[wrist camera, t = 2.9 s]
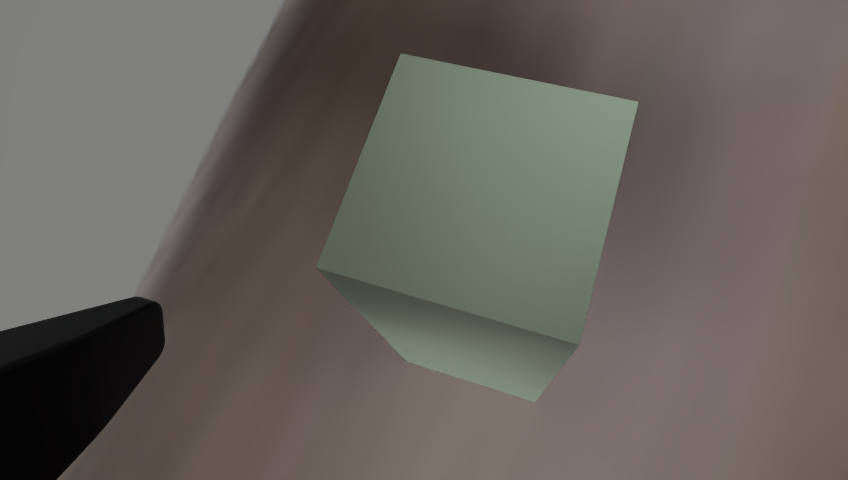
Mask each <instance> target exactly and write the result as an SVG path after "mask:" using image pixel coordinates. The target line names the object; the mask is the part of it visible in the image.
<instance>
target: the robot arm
mask: <svg viewBox="0 0 848 480" xmlns="http://www.w3.org/2000/svg"><path fill="white" fill-rule="evenodd" d="M164 344H165V335H164V324H163V312H162V308H161V306H160V304H158V303H157V302H155V301H152V300H148V299H145V298H142V297H132V298H128V299H124V300H120V301H116V302H112V303H108V304H105V305H101V306H97V307H93V308H89V309H85V310H81V311H78V312H73V313H70V314H66V315H62V316H58V317H54V318H51V319H47V320H42V321H38V322H35V323H31V324H27V325H23V326H19V327H15V328H11V329H7V330H4V331H0V480H57V479H58V478H59V476H60V475H61V474H62V473H63V472H64V471H65V470H66V469H67V468H68V467H69V466H70V465H71V464H72V462H73V461H74V460H75V459H76V458H77V457H78V456H79V455H80V454H81V453H82V452H83V451H84V450H85V449H86V447H87V446H88V445H89V444H90V443H91V442H92V441H93V440H94V439H95V438H96V437H97V435H98V434H99V433H100V432H101V431H102V430H103V429H104V428H105V426H106V425H107V424H108V423H109V421H110V420H111V419H112V418H113V416H114V415H115V414H116V413H117V411H118V410H119V409H120V407H121V406H122V405H123V403H124V402H125V401H126V400H127V398H128V397H129V396H130V394H131V393H132V392H133V390H134V389H135V388H136V387H137V385H138V384H139V383H140V381H141V380H142V379H143V377H144V376H145V375H146V373H147V372H148V371H149V370H150V368H151V367H152V366H153V364H154V363H155V362H156V360H157V359H158V358H159V356H160V355H161V353H162V351H163V348H164Z"/></svg>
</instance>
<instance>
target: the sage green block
mask: <svg viewBox="0 0 848 480" xmlns="http://www.w3.org/2000/svg"><path fill="white" fill-rule="evenodd" d="M637 106H638V102H637V101H632V100H627V99H622V98H617V97H613V96H608V95H603V94H598V93H593V92H588V91H583V90H578V89H573V88H568V87H563V86H559V85H554V84H549V83H544V82H539V81H534V80H529V79H524V78H519V77H514V76H510V75H505V74H500V73H495V72H490V71H485V70H480V69H475V68H470V67H465V66H460V65H456V64H451V63H446V62H441V61H436V60H431V59H426V58H421V57H416V56H411V55H406V54H402V53H401V54H400V56H399V59H398V61H397V64H396V67H395V69H394V72H393V74H392V77H391V79H390V82H389V84H388V87H387V89H386V92H385V94H384V97H383V99H382V102H381V104H380V107H379V110H378V112H377V115H376V117H375V120H374V122H373V125H372V127H371V130H370V132H369V135H368V137H367V140H366V142H365V145H364V148H363V150H362V153H361V155H360V158H359V160H358V163H357V165H356V168H355V170H354V173H353V175H352V178H351V180H350V183H349V186H348V188H347V191H346V193H345V196H344V198H343V201H342V203H341V206H340V208H339V211H338V213H337V216H336V218H335V221H334V223H333V226H332V229H331V231H330V234H329V236H328V239H327V241H326V244H325V246H324V249H323V251H322V254H321V256H320V259H319V261H318V264H317V267H316V268H317V269H318V270H319V271H320V272H321V273H322V274H323V275H324V276H325V277H326V279H327V280H328V281H329V282H330V283H331V284H332V285H333V286H334V287H335V288H336V289H337V290H338V291H339V292H340V293H341V294H342V295H343V296H344V297H345V298H346V299H347V300H348V301H349V302H350V303H351V304H352V305H353V306H354V307H355V309H356V310H357V311H358V312H359V313H360V314H361V315H362V316H363V317H364V318H365V319H366V320H367V321H368V322H369V323H370V324H371V325H372V326H373V327H374V328H375V329H376V330H377V331H378V332H379V333H380V334H381V335H382V336H383V337H384V339H385V340H386V341H387V342H388V343H389V344H390V345H391V346H392V347H393V348H394V349H395V350H396V351H397V352H398V353H399V354H400V355H401V356H402V357H403V358H404V359H405V360H406V361H407V362H410V363H413V364H416V365H419V366H422V367H426V368H429V369H432V370H435V371H438V372H441V373H444V374H448V375H451V376H454V377H457V378H460V379H463V380H466V381H470V382H473V383H476V384H479V385H482V386H485V387H488V388H491V389H495V390H498V391H501V392H504V393H507V394H510V395H513V396H517V397H520V398H523V399H526V400H529V401H532V402H535V401H536V400H537V399H538V398H539V396H540V395H541V394H542V392H543V391H544V390H545V389H546V387H547V386H548V385H549V383H550V382H551V381H552V380H553V378H554V377H555V376H556V374H557V373H558V372H559V371H560V369H561V368H562V367H563V365H564V364H565V363H566V362H567V360H568V359H569V358H570V356H571V355H572V354H573V353H574V351H575V350H576V349H577V347H578V346H579V344H580V340H581V336H582V332H583V328H584V324H585V320H586V315H587V311H588V307H589V303H590V299H591V295H592V291H593V287H594V283H595V279H596V274H597V270H598V266H599V262H600V258H601V254H602V250H603V246H604V242H605V237H606V233H607V229H608V225H609V221H610V217H611V213H612V209H613V205H614V200H615V196H616V192H617V188H618V184H619V180H620V176H621V172H622V168H623V164H624V159H625V155H626V151H627V147H628V143H629V139H630V135H631V131H632V127H633V122H634V118H635V114H636V110H637Z"/></svg>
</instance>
